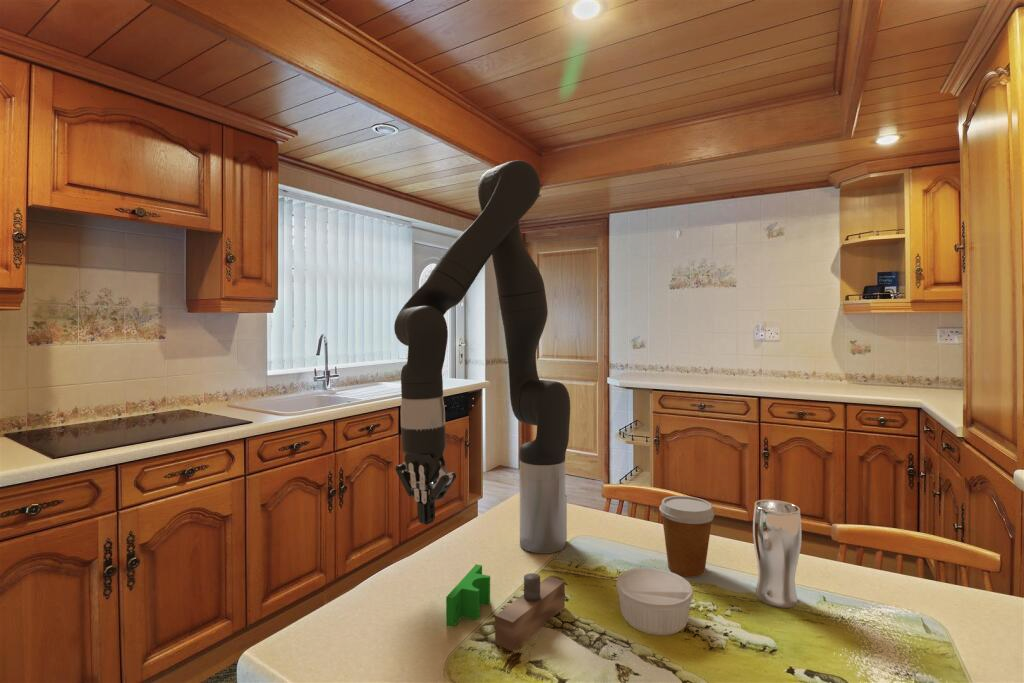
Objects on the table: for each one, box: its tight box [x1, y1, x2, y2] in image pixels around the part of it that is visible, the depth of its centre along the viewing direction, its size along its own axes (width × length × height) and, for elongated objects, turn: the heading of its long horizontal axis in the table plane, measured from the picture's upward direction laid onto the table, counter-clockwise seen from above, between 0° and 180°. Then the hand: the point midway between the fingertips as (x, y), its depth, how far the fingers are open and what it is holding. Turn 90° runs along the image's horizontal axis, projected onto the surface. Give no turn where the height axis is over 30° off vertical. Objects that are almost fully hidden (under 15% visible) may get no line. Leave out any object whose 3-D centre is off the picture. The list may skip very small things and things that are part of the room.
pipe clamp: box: [445, 563, 491, 628], centre depth 81 cm, size 11×4×5 cm, turn 161°
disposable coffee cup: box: [658, 495, 716, 578], centre depth 94 cm, size 10×10×12 cm
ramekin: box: [615, 567, 694, 636], centre depth 78 cm, size 11×11×5 cm
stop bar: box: [494, 573, 566, 652], centre depth 76 cm, size 14×3×7 cm, turn 144°
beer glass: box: [752, 499, 803, 609], centre depth 84 cm, size 7×7×15 cm
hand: (426, 522), depth 90 cm, fingers closed
